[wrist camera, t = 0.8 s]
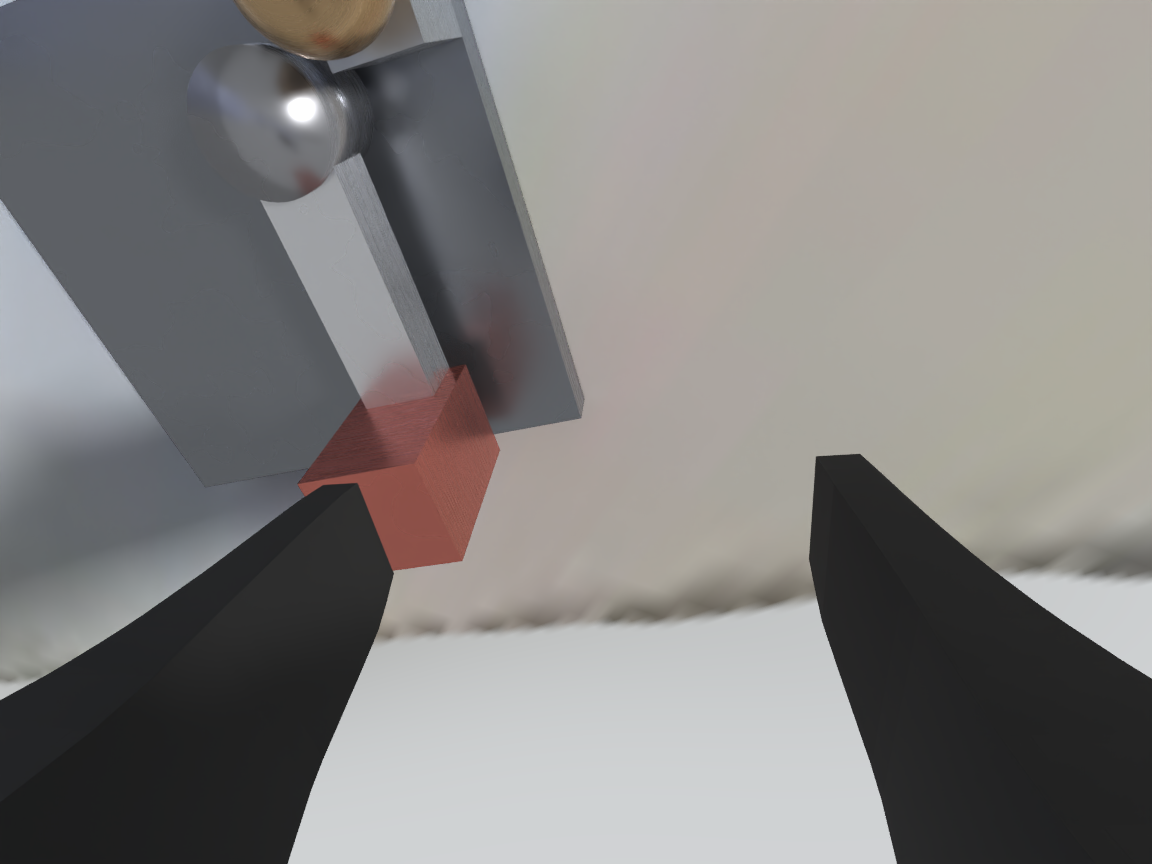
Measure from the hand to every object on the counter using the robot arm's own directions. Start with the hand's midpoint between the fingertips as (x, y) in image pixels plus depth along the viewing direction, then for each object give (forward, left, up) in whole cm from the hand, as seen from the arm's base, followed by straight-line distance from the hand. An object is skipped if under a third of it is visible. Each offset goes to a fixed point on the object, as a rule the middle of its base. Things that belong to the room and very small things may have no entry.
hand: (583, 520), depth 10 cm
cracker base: (-9, +4, -10) cm, 14 cm away
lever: (-6, +2, -9) cm, 11 cm away
